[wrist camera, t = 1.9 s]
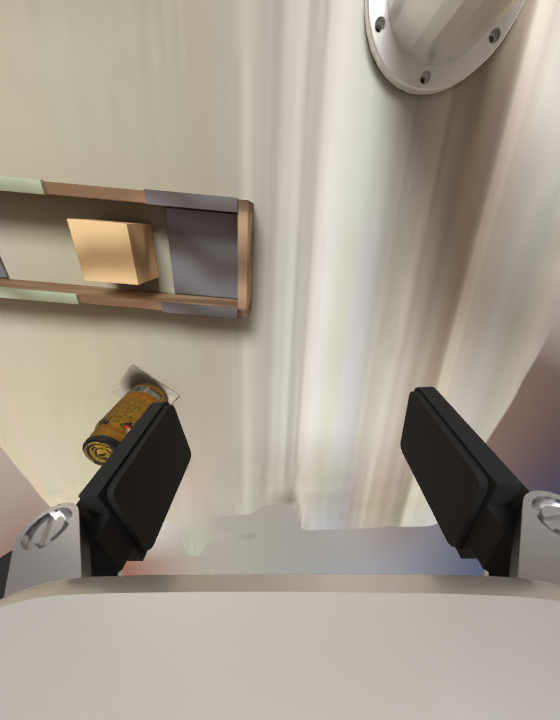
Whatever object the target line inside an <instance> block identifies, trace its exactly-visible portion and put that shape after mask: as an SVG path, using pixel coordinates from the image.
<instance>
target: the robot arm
mask: <svg viewBox="0 0 560 720" xmlns="http://www.w3.org/2000/svg"><path fill="white" fill-rule="evenodd" d="M524 1H525V0H365V23H366V33H367V37H368V41H369V45H370V49H371V53H372V55H373V57H374V59H375V62H376V64H377V66H378V68H379V69H380V71H381V72H382V73H383V75H384V76H385V78H386V79H387V80H388V81H390V82H391V83H392V84H393V85H394V86H395V87H397V88H399V89H401V90H403V91H405V92H407V93H411V94H417V95H427V94H435V93H438V92H441V91H444V90H447V89H449V88H451V87H453V86H454V85H456V84H458V83H459V82H461V81H463V80H464V79H465V78H466V77H468V76H469V75H470V74H471V73H473V72H474V71H475V70H476V69H477V68H478V67H479V66H480V65H481V64H483V63H484V62H485V61H486V60H487V59H488V58H489V57H490V56H491V54H492V53H493V52H494V51H495V50H496V48H497V47H498V46H499V45H500V43H501V42H502V41H503V39H504V37H505V36H506V34H507V33H508V31H509V29H510V28H511V26H512V25H513V23H514V21H515V20H516V18H517V16H518V14H519V11H520V9H521V7H522V5H523V3H524ZM376 28H378V29H379V31H380V33H378V32H376V30H375V29H376ZM489 41H490V42H489ZM420 79H422V80H423V84H421V82H420ZM401 450H402V453H403V455H404V457H405V459H406V461H407V463H408V464H409V466H410V468H411V470H412V472H413V474H414V476H415V478H416V480H417V482H418V484H419V486H420V488H421V490H422V492H423V494H424V496H425V498H426V500H427V502H428V504H429V506H430V508H431V510H432V512H433V514H434V516H435V518H436V520H437V522H438V524H439V526H440V528H441V530H442V532H443V534H444V536H445V538H446V540H447V542H448V543H449V544H450V545H451V546H453V547H456V549H457V551H458V553H459V555H460V557H461V559H464V558H466V559H467V558H477V559H478V560H479V562H480V564H481V566H482V567H483V569H485V572H484V576H472V575H471V576H469V575H427V574H426V575H422V574H417V575H415V574H402V575H401V574H398V575H397V574H272V575H271V574H262V575H261V574H259V575H258V574H255V575H254V574H253V575H251V574H249V575H248V574H247V575H246V574H243V575H140V576H124V575H123V567H124V565H125V563H126V561H143V559H144V557H145V555H146V553H147V550H150V549H151V548H152V547H153V545H154V543H155V541H156V538H157V536H158V534H159V531H160V529H161V526H162V524H163V522H164V520H165V517H166V515H167V513H168V510H169V508H170V506H171V503H172V501H173V499H174V496H175V494H176V492H177V489H178V487H179V485H180V482H181V480H182V478H183V475H184V473H185V471H186V468H187V466H188V464H189V461H190V458H191V451H190V448H189V446H188V443H187V440H186V437H185V435H184V432H183V429H182V427H181V424H180V421H179V418H178V416H177V413H176V410H175V408H174V406H173V405H170V403H169V402H153V403H151V404H150V406H149V407H148V408H147V409H146V411H145V412H144V413H143V415H142V416H141V417H140V418H139V420H138V421H137V422H136V423H135V425H134V426H133V427H132V428H131V430H130V431H129V432H128V434H127V435H126V436H125V437H124V439H123V440H122V441H121V442H120V444H119V445H118V446H117V447H116V449H115V450H114V451H113V453H112V454H111V455H110V456H109V458H108V459H107V460H106V461H105V463H104V464H103V465H102V467H101V468H100V469H99V470H98V472H97V473H96V474H95V475H94V477H93V478H92V479H91V480H90V482H89V483H88V484H87V486H86V487H85V488H84V489H83V491H82V492H81V493H80V494H79V498H80V500H79V502H78V503H77V504H76V505H75V504H74V503H63V504H58V505H56V506H54V507H52V508H49V509H48V510H46V511H44V512H43V513H41V514H39V515H38V516H37V517H36V518H35V519H33V520H32V521H31V522H30V523H29V524H28V525H27V526H26V527H25V528H24V529H23V530H22V531H21V533H20V534H19V536H18V538H17V539H16V541H15V544H14V546H13V550H12V551H11V552H9V553H7V554H6V555H4V556H2V557H1V558H0V720H560V495H557V494H554V493H551V492H546V491H531V492H529V491H528V490H527V488H525V486H524V485H523V484H522V483H521V482H520V481H519V480H518V479H517V477H516V476H515V475H514V474H513V473H512V472H511V471H510V470H509V469H508V468H507V467H506V465H504V463H503V462H502V461H501V460H500V459H499V458H498V457H497V456H496V454H495V453H494V452H493V451H492V450H491V449H490V448H489V447H488V446H487V445H486V443H485V442H484V441H483V440H482V439H481V438H480V437H479V436H478V435H477V434H476V432H475V431H474V430H473V429H472V428H471V427H470V426H469V425H468V424H467V423H466V422H465V421H464V419H463V418H462V417H461V416H460V415H459V414H458V413H457V412H456V411H455V410H454V408H453V407H452V406H451V405H450V404H449V403H448V402H447V401H446V400H445V399H444V397H443V396H442V395H441V394H440V393H439V392H438V391H437V390H436V389H435V388H434V387H418V388H415V390H414V392H410V395H409V400H408V405H407V411H406V416H405V421H404V427H403V432H402V438H401Z"/></svg>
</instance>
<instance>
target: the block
mask: <svg viewBox="0 0 560 720" xmlns="http://www.w3.org/2000/svg"><path fill="white" fill-rule="evenodd" d="M67 221H68V225H69V228H70V231H71V235H72V238H73V242H74V245H75V249H76V252H77V255H78V259H79V262H80V266H81V269H82V272H83V276H84V279H85V280H87V281H99V282H110V283H122V284H134V285H139V284H142V283H145V282H147V281H150V280H152V279H155V278H157V277H159V274H158V268H157V261H156V255H155V248H154V242H153V235H152V229H151V224H144V223H133V222H121V221H109V220H94V219H67Z"/></svg>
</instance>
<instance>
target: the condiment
mask: <svg viewBox="0 0 560 720" xmlns="http://www.w3.org/2000/svg"><path fill="white" fill-rule="evenodd" d="M146 380H147V381H146ZM129 390H130V391H129ZM112 392H113V393H115V394H116V395H118V396H120V397H122V399H121V400H120V401H119V402H118V403H117V404H116V405H115V406H114V407H113V408H112V409H111V410H110V411H109V412H108V413H107V414H106V415H105V416H104V417H103V418H102V419H101V421H99V422H98V424H97V425H96V427H95V430H94V432H93V433H92V434H91V435H90V437H89V438H88V439H87V440H86V441H85V442H84V444H83V451H84V454H85V455H86V457H87V458H88V459H89V460H91V461H92V462H93V463H95V464H98V465H101V466H102V465H103V464H104V463H105V461H106V460H107V459H108V458H109V456H110V455H111V454H112V453H113V451H114V450H115V449H116V447H117V446H118V445H119V444H120V442H121V441H122V440H123V439H124V437H125V436H126V435H127V434H128V432H129V431H130V430H131V428H132V427H133V426H134V425H135V423H136V422H137V421H138V420H139V418H140V417H141V416H142V415H143V413H144V412H145V411H146V409H147V408H148V407H149V406H150V404H151V403H153V402H169V403H170V405H171V404H172V403H173V402H174V401H175V400H176V398H177V397H178V396H179V395H177V394H176V393H175V392H173V391H172V390H170V389H169V388H167V387H166V386H164V385H163V384H161V383H160V382H158V381H156V380H155V379H153V378H151V377H150V376H149V375H147V374H146V373H144V372H143V371H141V370H139V369H137V368H136V367H134V366H133V365H131V367H130V368H129V370H128V371H127V372H126V374H125V375H124V377H123V378H122V379H121V381H120V382H119V383H118V385H117V386H116V387H115V389H114V390H113V391H112Z"/></svg>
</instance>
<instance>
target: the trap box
mask: <svg viewBox="0 0 560 720" xmlns="http://www.w3.org/2000/svg"><path fill="white" fill-rule="evenodd" d="M0 191H10V192H21V193H32V194H43V195H53V196H64V197H75V198H86V199H97V200H108V201H118V202H129V203H140V204H151V205H162V206H173V207H183V208H194V209H205V210H216V211H227V212H238V214H227V213H216V212H205V211H194V210H183V209H173V208H165V214H166V222H167V230H168V238H169V247H170V255H171V263H172V272H173V280H174V288H175V293H181V294H193V295H204V296H215V297H226V298H237V299H238V300H236V299H225V298H214V297H203V296H192V295H181V294H169V293H158V292H147V291H136V290H125V289H114V288H103V287H92V286H81V285H70V284H59V283H47V282H36V281H25V280H14V279H3V278H0V297H1V298H12V299H23V300H34V301H46V302H57V303H68V304H81V303H86V304H98V305H109V306H120V307H131V308H142V309H153V310H162V312H168V313H179V314H191V315H202V316H213V317H224V318H235V319H237V318H238V317H242V318H246V317H247V315H248V313H249V311H250V309H251V278H252V238H253V203H252V202H250V201H248V200H239V199H238V198H233V197H222V196H212V195H201V194H190V193H179V192H168V191H158V190H147V189H144V191H142V190H131V189H120V188H109V187H99V186H88V185H77V184H66V183H56V182H45V181H43V180H39V179H28V178H18V177H7V176H0ZM0 277H4V278H9V277H8V275H7V272H6V270H5V268H4V265H3V263H2V261H1V258H0Z"/></svg>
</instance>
